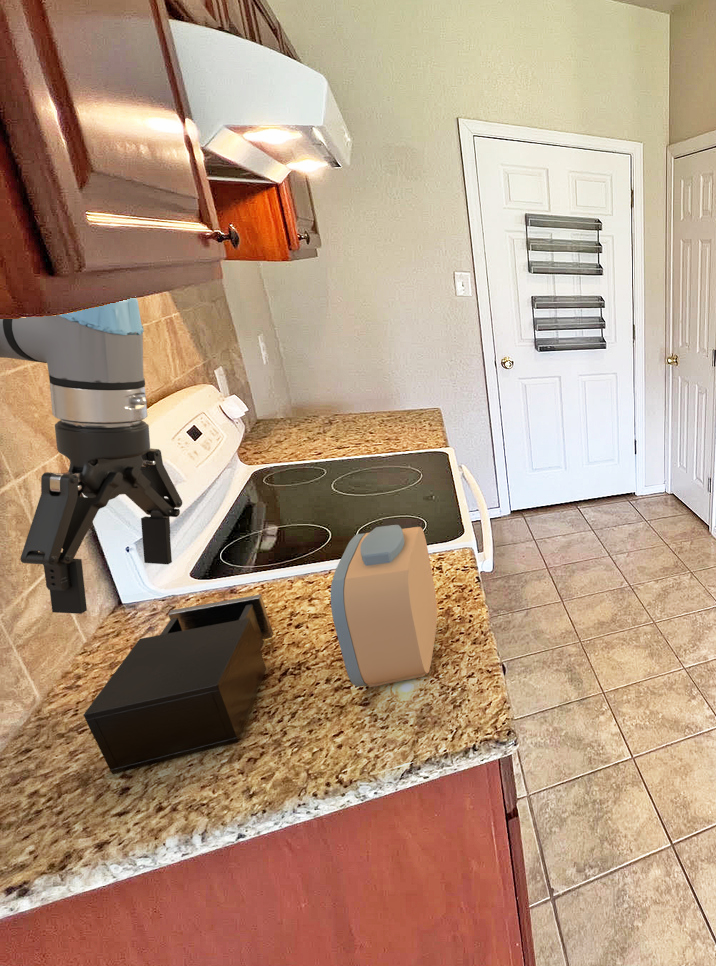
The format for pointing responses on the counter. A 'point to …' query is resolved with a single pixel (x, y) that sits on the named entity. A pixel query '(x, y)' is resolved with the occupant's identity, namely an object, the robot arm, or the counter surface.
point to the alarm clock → (385, 606)
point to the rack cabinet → (178, 695)
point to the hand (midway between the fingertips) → (118, 585)
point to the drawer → (223, 616)
